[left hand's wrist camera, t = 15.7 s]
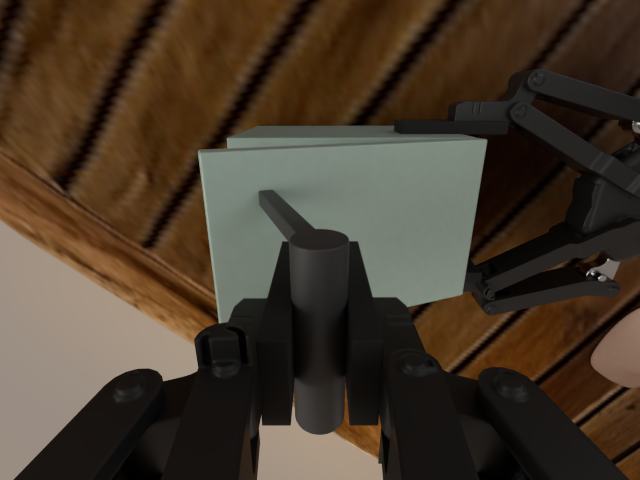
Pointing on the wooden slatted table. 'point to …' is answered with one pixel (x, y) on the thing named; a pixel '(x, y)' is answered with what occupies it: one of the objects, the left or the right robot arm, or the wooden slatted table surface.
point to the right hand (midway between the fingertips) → (392, 203)
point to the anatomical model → (620, 352)
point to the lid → (339, 238)
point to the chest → (324, 136)
